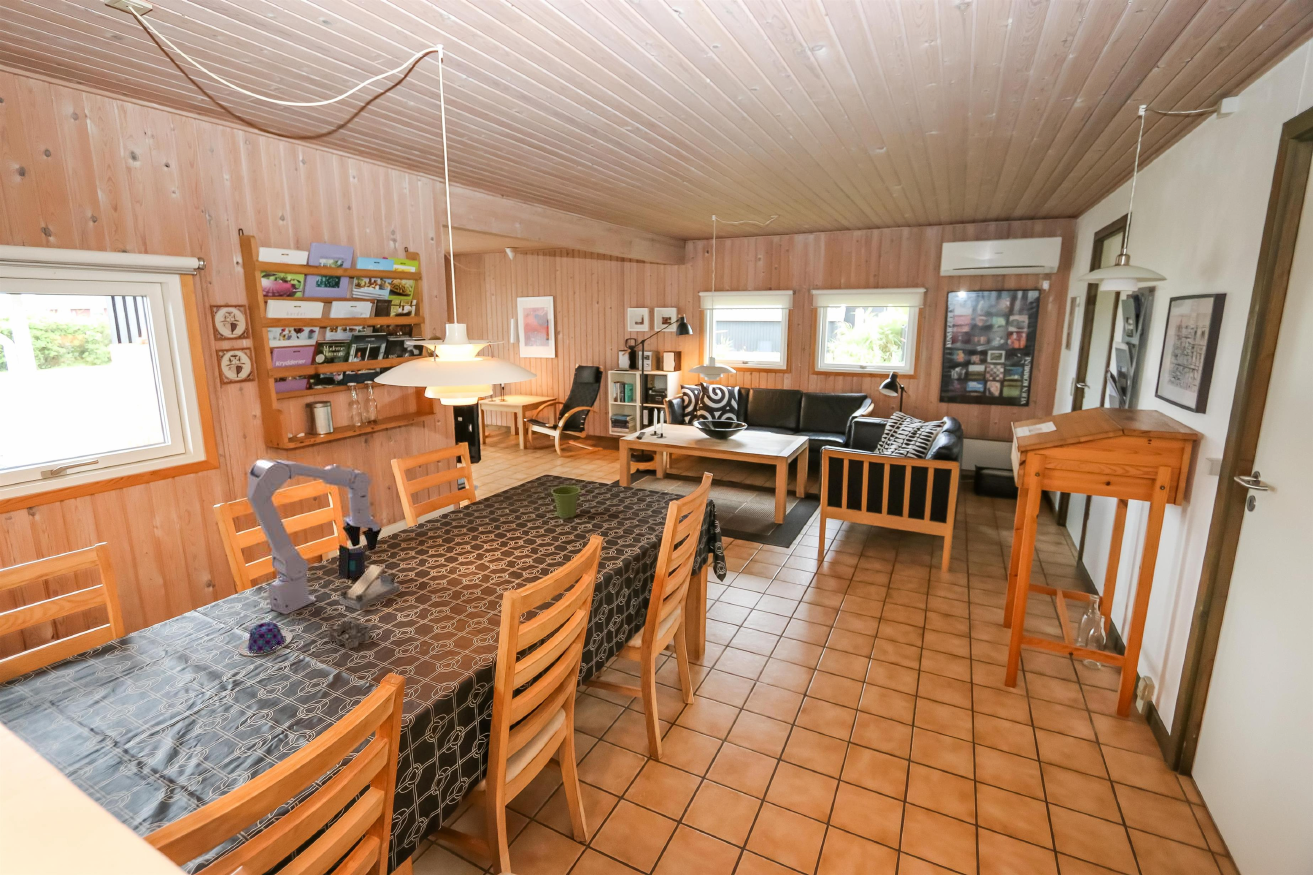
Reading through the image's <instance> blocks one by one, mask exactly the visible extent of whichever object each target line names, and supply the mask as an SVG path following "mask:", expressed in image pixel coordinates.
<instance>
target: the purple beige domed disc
mask: <svg viewBox="0 0 1313 875" xmlns="http://www.w3.org/2000/svg"><path fill="white" fill-rule="evenodd" d="M283 635H284V636H286V637H287V638H286V640H287V641H286V643H284V641H285V638H284V637H283ZM248 636H249V637H248V639H246V640H244V641H243V642H242V643H241V644H240V646H239V647H238V652H239V653H240V654H241V655H243V656H253V657H254V656H261V655H266V654H269V653H273V652H275V651H276V650H274V651H271V652H268V653H264V654H254V655H253V654H247V653H245V652H244V651H245V649H243V648H245V647H246V645H247V644H248V648H249V649H248V648H247V649H248V651H251V653H253V652H252V651H256V652H261V651H264V650H268V649H272V648H273V647H275V646H276V645H279V646H280V644H281V645H282V644H283V643H284V644H283V646H282V647H281V648H283V647H285V646H286V645H288V644H289V643H290V642H291V641H292V639H293V633H292V632H290V631H288V630H283V629H280V627H279V625H278V624H277V623H275V622H273V621H268V622H261V623H260V624H256V625H255V626H254V627H252V628H251V629H250V631H249V635H248ZM248 642H249V643H248ZM281 648H279V649H281ZM279 649H278V650H279ZM256 652H255V653H256ZM264 652H265V651H264ZM261 653H262V652H261Z"/></svg>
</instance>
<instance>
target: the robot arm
mask: <svg viewBox="0 0 1313 875" xmlns="http://www.w3.org/2000/svg"><path fill="white" fill-rule="evenodd" d="M247 475H248V485H247V486H248V487H247V491H246V492H247V493H246V499H247V501H248V503H249V505H250V507H251V509H252V511H253V513H254V516H255V517H256V519H257V520H256V521H258V524H259V525H260V528H261V530H262V532H263V535H264V536H265V538H266V540H267V542H268V545H269V547H270V549H271V552H270V556H271V559H272V560H271V566H272V568H273V570H275V571H277V576H276V578H277V579H276V580H275V581H274V582H272V583H270V584H268V590H267V592H268V597H269V603H270V606H269V609H270V610H273V611H276V612H279V613H281V614H283V615H287V614H290V613H292V612H294V611H296V610H299V609H301V608H304V607H305V606H308V605H310V604H311V603H314V602H317V598H315V597H312V596H310V593H309V586H308V578H307V577H308V576H307V572H308V569H309V566H310V565H309V562H308V560H307V559H306V558H304V557H303V556H302V555H301V554H300V552H299V550H298V549H297V548H296V546H294V544H293V542H292V540H291V537H290V536H289V533H288V532H287V530H286V527H285V525H284V523H283V520H282V519H281V517H280V514H279V512H278V511H277V508H276V506H275V503H274V502H273V500H272V497H273V496H274V494H275V492H277V491H279V489H280V488H282V487H283V485H284V484H286V483H287V481H288V480H293V479H294V478H296V477H297V476H300V477H306V478H313V479H318V480H322V482H323V484H324V485H329V486H336V487H341V488H347V495H348V505H349V506H348V507H349V513H350V514H349V515H350V516H346V517H343V524H345V526H343V527H342V530H343V531H344V532H345V533H346V534H347V537H348V539H349V542H350V544H351V545H352V547H353V548H356V547H357V546H360V545H361V533H362V534H363V536H364V538H365V541H366V544H367V545H366V546H367V549H368V551H369V552H372V551H374V550H376V549H377V543H378V538H379V537H380V534H381V532H382V530H383V529H382V527H381V523H380V522H376V521H375V519H374V516H371V515H372V513H371V505H370V495H369V487H370V486H371V483H372V479H371V478H370V476H369V475H368V474H367V473H366V472H364V471H359V470H356V469H355V468H353V467H349V468H345V467H341V465H339V464H335V463H334V464H333V465H327V466H325V467H324V468H323V467H317V466H313V465H309V464H305V463H299V462H296V461H290V460H282V459H273V460H271V459H269V458H261V459H258V460H257V461H255V462H254V463H253V464H252V466H251V468H249V471H248V474H247ZM361 528H364V529H365V528H366V530H363V531H361Z"/></svg>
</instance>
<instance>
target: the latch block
mask: <svg viewBox="0 0 1313 875" xmlns="http://www.w3.org/2000/svg"><path fill="white" fill-rule="evenodd" d="M400 590H401V587H400V583H396V582H395V577H394V576H391V575H387V574H384V573H381V574H380V575H379V577H378V578H377V579H376V580H375V581H374V582H373V583H372V585H371V586H370V587H369V588H368V589H367V590H366V592H365V593H364V594H363V595H361V594H359V595H357V596H356V600H354V599H351V598H348V597H346V596H345V595H346V594H347V593H348V590H347V589H346V588H345V589H342V590H340V596H338V600H339V604H341V605H344V606H347V607H349V608H352V609H355V610H358V611H361V610H364V609H366V608H368V607H369V606H370V607H371V606H372V605H373V604H376V603H377V602H379V601H381V600H383V599H385V598H387V597H389V596H392V595H393V594H395V593H397V592H399V591H400Z"/></svg>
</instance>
